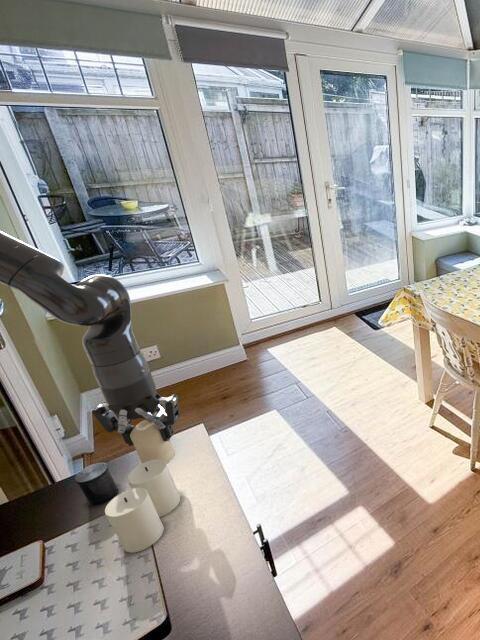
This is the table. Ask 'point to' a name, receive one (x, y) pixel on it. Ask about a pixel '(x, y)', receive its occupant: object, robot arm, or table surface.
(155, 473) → the candle
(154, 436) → the candle
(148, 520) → the candle
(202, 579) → the table surface
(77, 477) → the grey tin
